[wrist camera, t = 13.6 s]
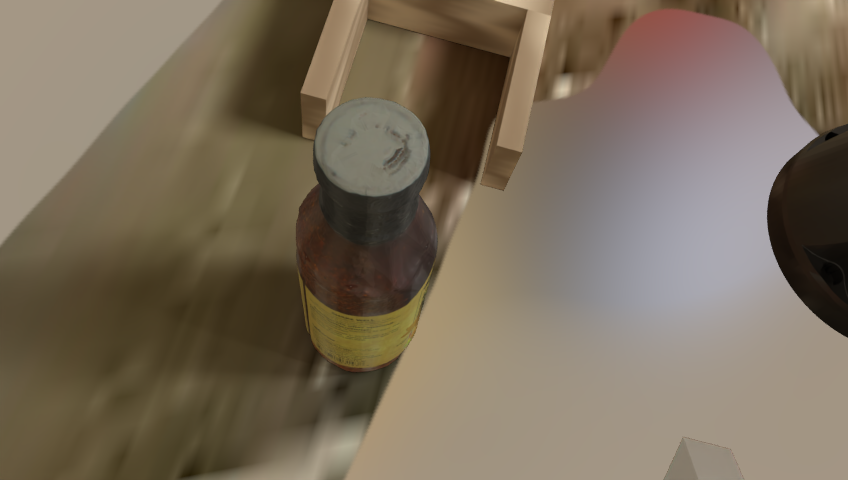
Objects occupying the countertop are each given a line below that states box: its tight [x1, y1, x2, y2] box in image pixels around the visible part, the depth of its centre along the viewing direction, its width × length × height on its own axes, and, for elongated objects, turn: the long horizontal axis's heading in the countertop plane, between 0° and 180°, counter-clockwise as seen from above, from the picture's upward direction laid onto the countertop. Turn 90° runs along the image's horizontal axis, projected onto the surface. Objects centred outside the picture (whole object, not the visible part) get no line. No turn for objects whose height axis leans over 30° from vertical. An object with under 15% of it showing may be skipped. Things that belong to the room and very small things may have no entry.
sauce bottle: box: [296, 97, 438, 372], centre depth 35 cm, size 7×6×20 cm
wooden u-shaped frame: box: [300, 0, 554, 191], centre depth 49 cm, size 13×12×5 cm
